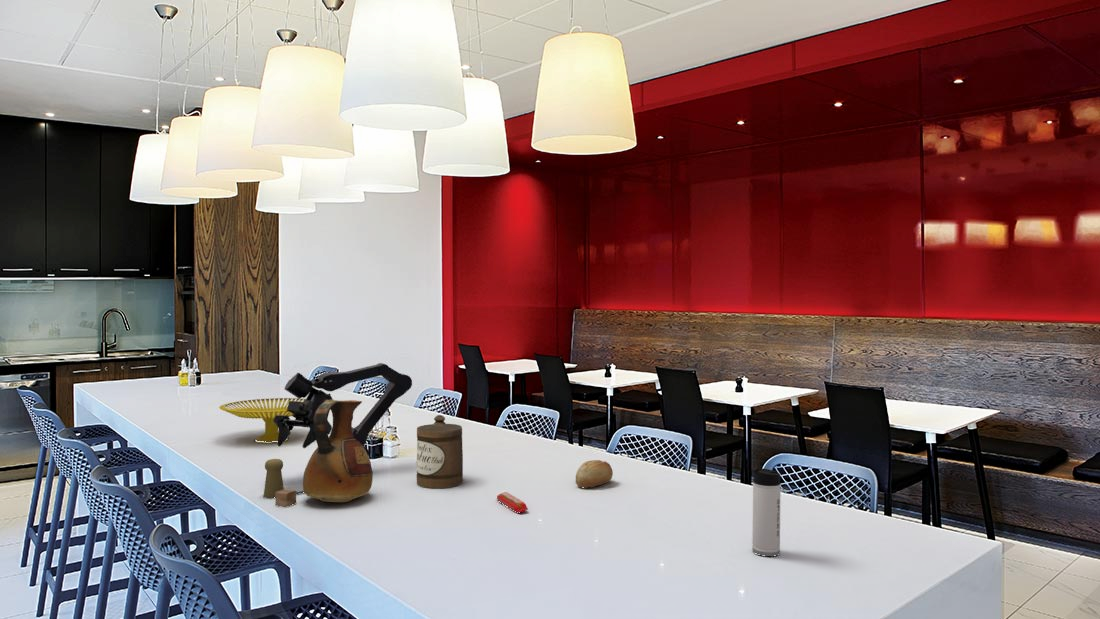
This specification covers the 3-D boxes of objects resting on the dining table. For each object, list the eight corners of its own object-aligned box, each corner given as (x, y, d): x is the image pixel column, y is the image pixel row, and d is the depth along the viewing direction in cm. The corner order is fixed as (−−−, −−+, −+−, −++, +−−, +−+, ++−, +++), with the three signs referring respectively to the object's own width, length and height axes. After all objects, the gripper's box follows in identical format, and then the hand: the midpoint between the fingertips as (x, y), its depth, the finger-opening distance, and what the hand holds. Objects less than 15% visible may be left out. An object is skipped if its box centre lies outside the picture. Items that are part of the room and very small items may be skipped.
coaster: (304, 485, 233) (304, 483, 233) (318, 490, 227) (318, 487, 227) (281, 490, 227) (281, 487, 227) (293, 495, 221) (293, 492, 221)
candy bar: (494, 501, 217) (494, 491, 217) (506, 499, 219) (506, 490, 219) (517, 516, 203) (517, 505, 203) (529, 514, 204) (529, 503, 204)
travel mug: (747, 548, 177) (747, 466, 176) (773, 547, 177) (774, 465, 177) (756, 557, 170) (757, 472, 170) (784, 557, 171) (785, 471, 171)
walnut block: (285, 502, 214) (285, 488, 214) (296, 503, 213) (296, 490, 212) (275, 506, 210) (275, 492, 210) (286, 507, 209) (286, 493, 209)
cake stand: (302, 450, 286) (302, 412, 285) (200, 449, 286) (200, 411, 286) (334, 431, 326) (334, 398, 326) (244, 430, 326) (244, 397, 326)
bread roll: (620, 483, 238) (621, 459, 238) (592, 492, 227) (592, 466, 227) (597, 478, 245) (597, 454, 245) (568, 487, 233) (569, 462, 233)
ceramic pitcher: (385, 493, 224) (385, 396, 223) (346, 512, 205) (346, 405, 204) (330, 488, 230) (331, 393, 229) (288, 505, 211) (288, 401, 210)
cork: (277, 499, 217) (277, 462, 217) (259, 497, 218) (259, 461, 218) (288, 493, 223) (288, 457, 223) (270, 492, 224) (270, 456, 224)
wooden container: (407, 483, 237) (407, 415, 236) (443, 475, 248) (443, 410, 247) (436, 491, 227) (436, 420, 226) (472, 482, 238) (472, 415, 237)
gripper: (276, 389, 236) (253, 429, 225) (326, 392, 230) (304, 433, 220) (292, 410, 243) (270, 450, 233) (340, 413, 238) (320, 454, 227)
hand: (290, 446), depth 228 cm, fingers open, 9 cm apart
